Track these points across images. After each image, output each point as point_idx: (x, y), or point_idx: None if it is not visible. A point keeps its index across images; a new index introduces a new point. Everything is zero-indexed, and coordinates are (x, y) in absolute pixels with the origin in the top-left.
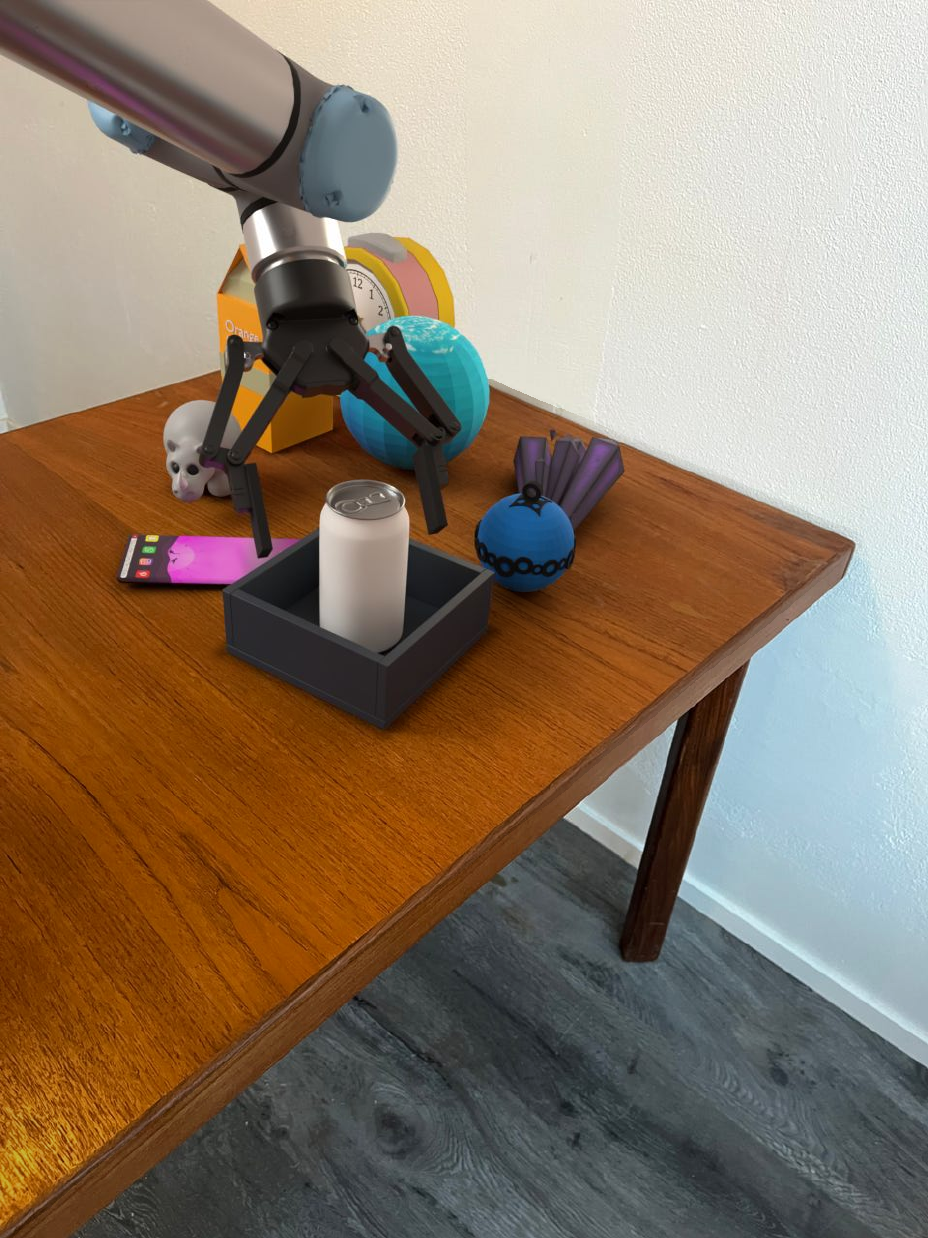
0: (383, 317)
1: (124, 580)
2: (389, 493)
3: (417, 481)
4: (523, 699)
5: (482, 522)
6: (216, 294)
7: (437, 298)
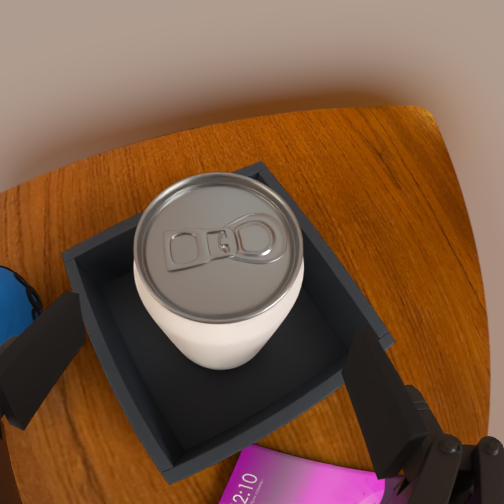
0: None
1: None
2: (151, 258)
3: (45, 395)
4: (128, 197)
5: None
6: None
7: None
